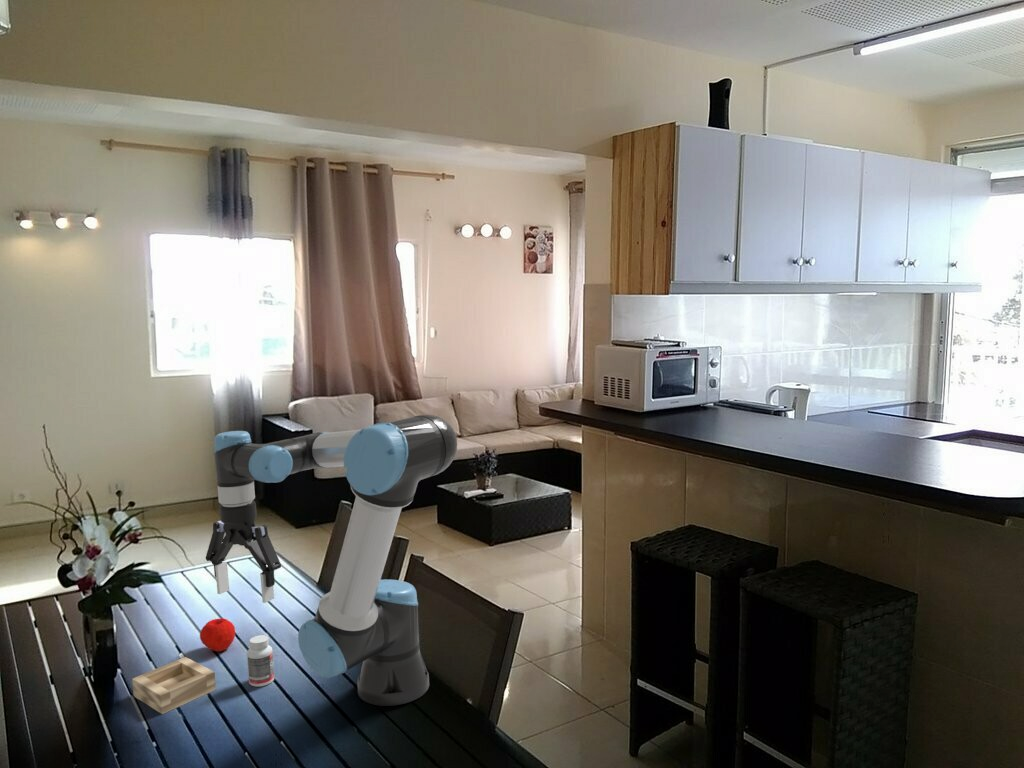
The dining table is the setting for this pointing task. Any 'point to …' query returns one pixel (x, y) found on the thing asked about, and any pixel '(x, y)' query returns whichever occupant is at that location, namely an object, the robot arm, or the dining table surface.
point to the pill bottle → (260, 661)
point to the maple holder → (173, 684)
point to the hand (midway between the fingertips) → (245, 596)
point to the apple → (218, 634)
